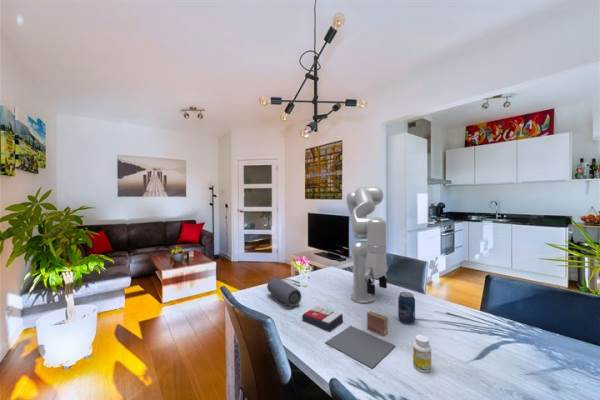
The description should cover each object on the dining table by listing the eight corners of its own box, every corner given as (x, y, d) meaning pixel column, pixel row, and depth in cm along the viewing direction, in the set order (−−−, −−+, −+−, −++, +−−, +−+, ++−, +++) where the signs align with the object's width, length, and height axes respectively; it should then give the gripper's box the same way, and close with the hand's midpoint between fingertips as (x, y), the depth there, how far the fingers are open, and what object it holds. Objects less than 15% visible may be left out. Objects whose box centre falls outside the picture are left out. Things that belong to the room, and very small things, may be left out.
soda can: (395, 321, 110) (395, 294, 110) (401, 315, 115) (401, 290, 115) (412, 326, 105) (411, 299, 105) (417, 320, 111) (417, 294, 110)
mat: (350, 326, 106) (350, 325, 106) (395, 346, 92) (395, 345, 92) (325, 343, 95) (325, 342, 95) (372, 369, 80) (372, 367, 80)
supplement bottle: (429, 375, 77) (429, 345, 77) (411, 367, 80) (411, 338, 80) (433, 366, 81) (433, 337, 81) (415, 359, 85) (415, 331, 84)
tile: (370, 327, 106) (370, 310, 106) (387, 334, 100) (387, 317, 100) (366, 329, 104) (366, 312, 104) (384, 337, 98) (384, 319, 98)
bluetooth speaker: (302, 306, 127) (302, 286, 127) (287, 311, 121) (286, 291, 121) (280, 292, 146) (280, 275, 145) (266, 296, 140) (266, 278, 140)
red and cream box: (316, 305, 120) (342, 312, 111) (316, 313, 120) (343, 322, 110) (301, 313, 112) (329, 322, 102) (302, 322, 112) (329, 332, 102)
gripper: (378, 245, 110) (379, 283, 110) (357, 251, 98) (357, 293, 98) (395, 247, 105) (395, 287, 105) (374, 254, 93) (374, 299, 93)
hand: (377, 290), depth 102 cm, fingers open, 9 cm apart
